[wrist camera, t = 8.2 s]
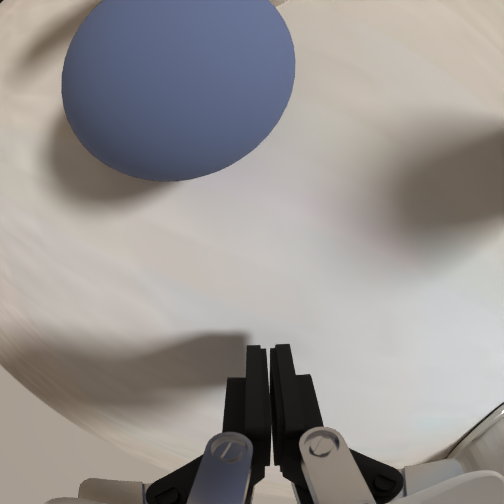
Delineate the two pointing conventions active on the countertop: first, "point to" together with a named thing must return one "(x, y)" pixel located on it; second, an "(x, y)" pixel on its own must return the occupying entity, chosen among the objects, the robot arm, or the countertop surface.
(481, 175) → the countertop surface
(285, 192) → the countertop surface
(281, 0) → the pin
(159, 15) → the ball
